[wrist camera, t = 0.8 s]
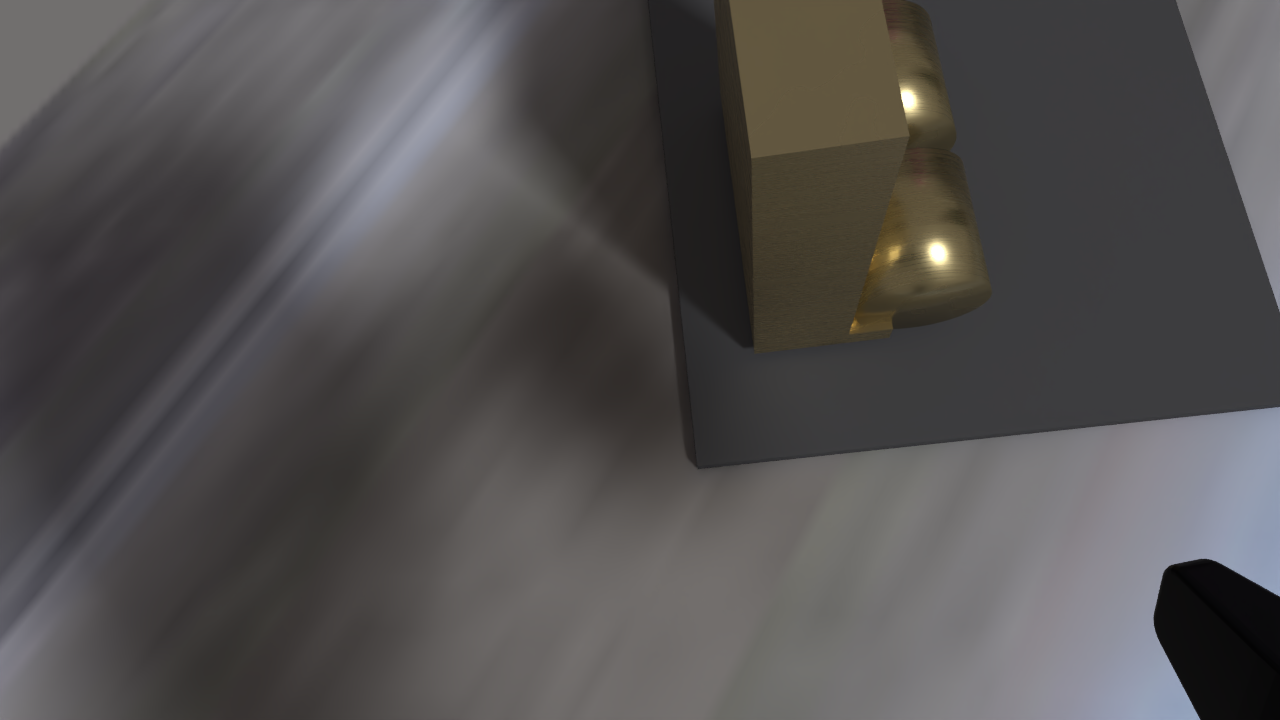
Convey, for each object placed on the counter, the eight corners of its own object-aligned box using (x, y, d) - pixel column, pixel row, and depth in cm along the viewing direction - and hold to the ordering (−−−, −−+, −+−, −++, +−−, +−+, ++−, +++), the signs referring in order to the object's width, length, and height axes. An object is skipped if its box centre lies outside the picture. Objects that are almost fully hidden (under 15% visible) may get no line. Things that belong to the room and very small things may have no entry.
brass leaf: (975, 327, 22) (1136, 103, 13) (754, 353, 23) (751, 158, 13) (919, 65, 25) (1019, -286, 15) (720, 95, 25) (697, -225, 16)
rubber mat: (1299, 404, 21) (1309, 400, 21) (698, 468, 23) (697, 466, 23) (1056, -332, 29) (1060, -344, 29) (622, -249, 31) (621, -259, 31)
